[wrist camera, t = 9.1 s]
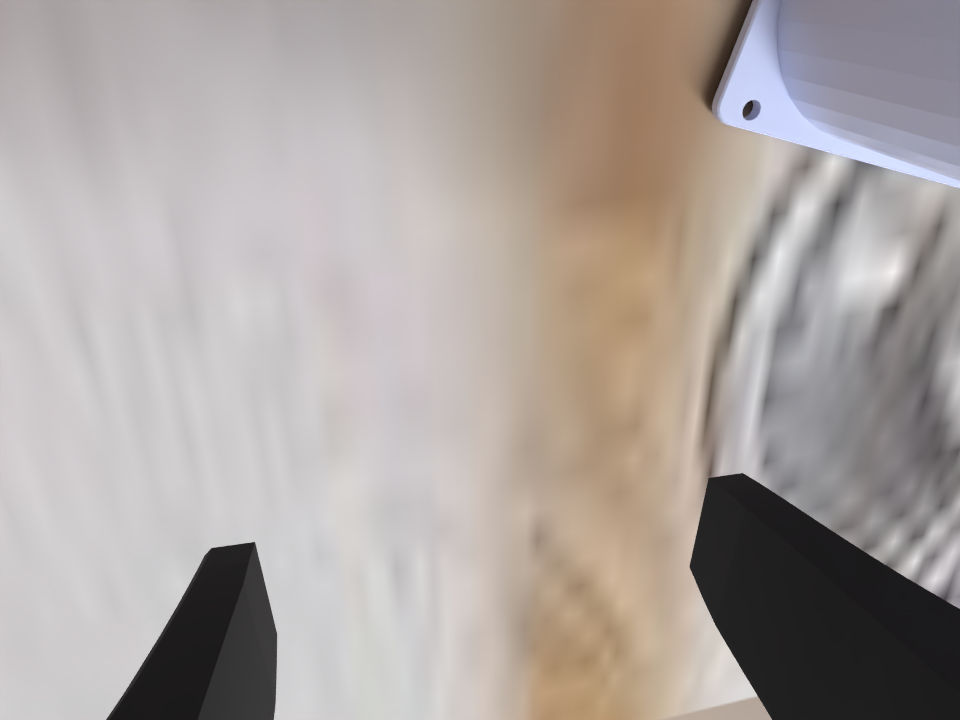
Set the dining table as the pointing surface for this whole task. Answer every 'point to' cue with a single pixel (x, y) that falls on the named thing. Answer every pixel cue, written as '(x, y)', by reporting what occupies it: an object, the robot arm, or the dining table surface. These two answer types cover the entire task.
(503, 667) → the dining table surface
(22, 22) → the dining table surface
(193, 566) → the dining table surface
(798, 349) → the dining table surface
